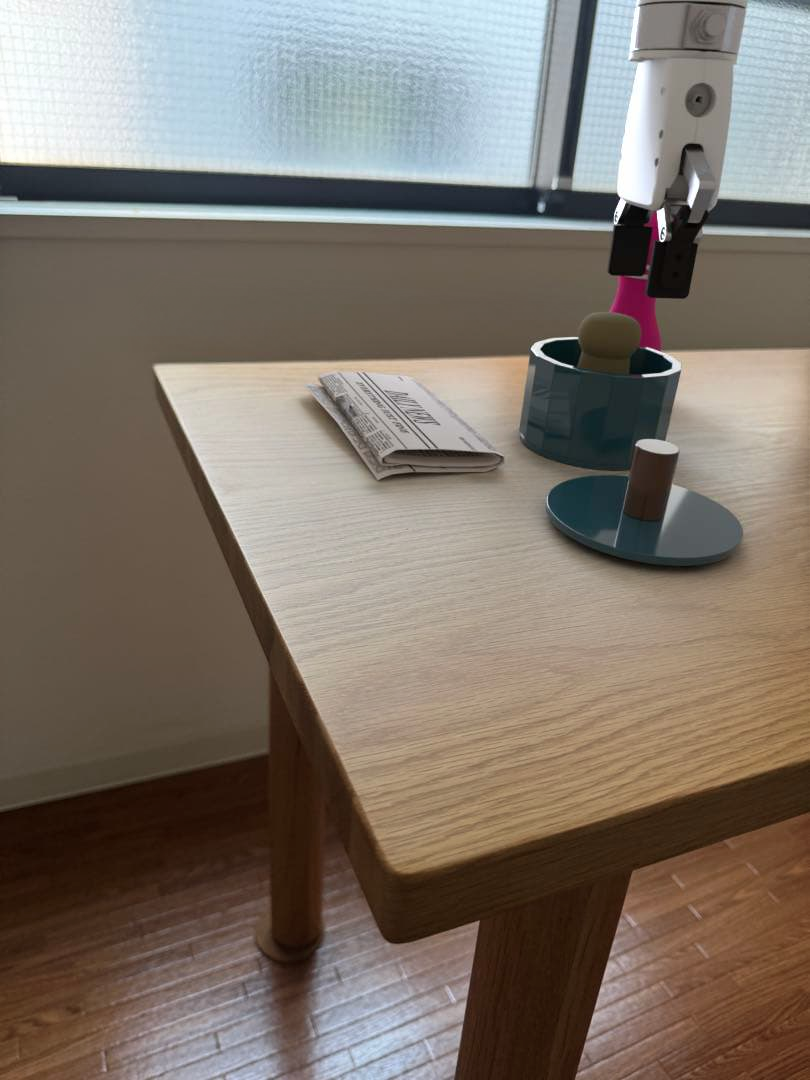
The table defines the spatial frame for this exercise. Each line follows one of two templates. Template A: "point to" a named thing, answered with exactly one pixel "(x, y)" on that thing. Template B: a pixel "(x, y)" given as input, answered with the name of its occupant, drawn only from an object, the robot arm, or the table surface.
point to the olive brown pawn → (608, 342)
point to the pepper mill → (640, 298)
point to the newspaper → (401, 425)
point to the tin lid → (645, 513)
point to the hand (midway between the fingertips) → (644, 285)
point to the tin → (595, 405)
